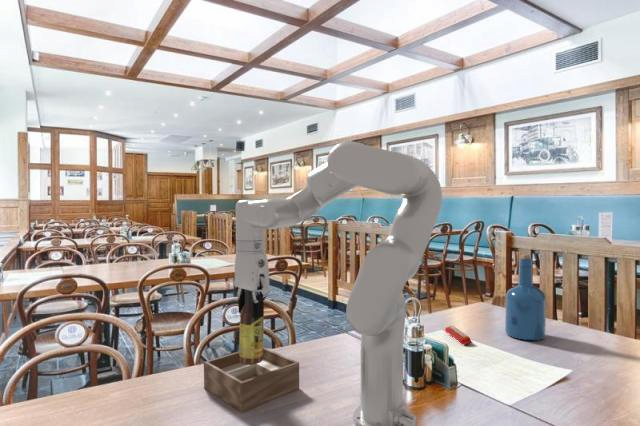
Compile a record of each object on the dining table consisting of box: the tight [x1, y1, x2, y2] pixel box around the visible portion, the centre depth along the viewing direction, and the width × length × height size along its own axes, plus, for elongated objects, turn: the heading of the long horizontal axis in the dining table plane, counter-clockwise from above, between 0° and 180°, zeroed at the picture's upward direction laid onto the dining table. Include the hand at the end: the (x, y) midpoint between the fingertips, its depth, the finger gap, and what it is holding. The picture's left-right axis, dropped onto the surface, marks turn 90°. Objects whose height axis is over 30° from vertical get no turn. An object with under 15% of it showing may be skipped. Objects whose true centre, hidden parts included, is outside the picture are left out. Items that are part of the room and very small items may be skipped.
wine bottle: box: [504, 253, 547, 341], centre depth 152 cm, size 14×13×30 cm
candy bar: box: [444, 325, 473, 346], centre depth 150 cm, size 16×4×3 cm, turn 7°
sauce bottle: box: [238, 288, 265, 365], centre depth 110 cm, size 6×6×20 cm
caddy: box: [203, 346, 300, 414], centre depth 111 cm, size 18×18×7 cm
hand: (250, 313), depth 110 cm, fingers closed on sauce bottle, 5 cm apart
